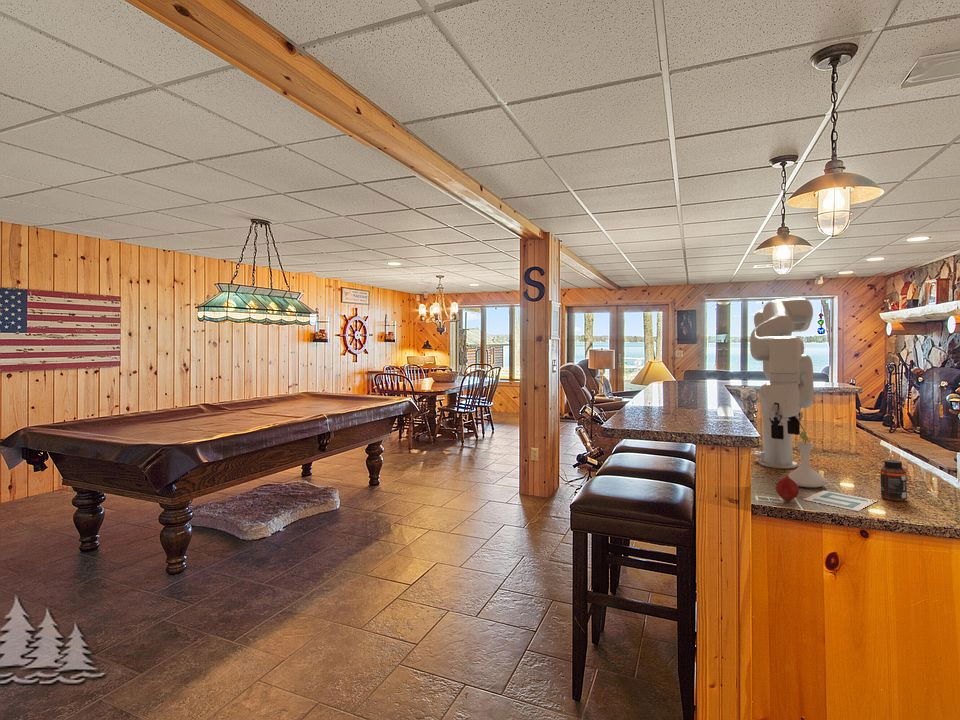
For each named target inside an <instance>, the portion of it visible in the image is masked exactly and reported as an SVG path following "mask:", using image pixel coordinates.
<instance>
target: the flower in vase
mask: <svg viewBox="0 0 960 720" xmlns="http://www.w3.org/2000/svg"><path fill="white" fill-rule="evenodd" d="M799 417H800V428H801V429H802V431H801V432H800V434H799V437H800V438H801V439H802V441H801V442H796V443H795V445H796V446H797V447H798V450H799V453H800V465H799V466H797V467H796V469H794V470H793V471H791V472H789V473H788V474H787V475H789V478H790V479H792V480H793V481H794V482H795V483H796V484H797V486H798V487H801V488H802V487H803V488H819V487H820V488H821V487H824V486H826V485H827V484H828V483H827V480H826V478H825V477H824V476H823V475H821V474H820V473H818V472H817V471H816V470H815V469H814V468H813V467H812V466H811V464H810V455H811V454H810V452H811V450H812V448H813V447H814V446H815V444H814V443H812V442H807V440H809V437H808V436H807V433H806V431H805V429H804V427H803V425H802V423H801V421H802V419H803V418H804V411H803V410H800V416H799Z"/></svg>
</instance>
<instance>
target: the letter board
mask: <svg viewBox="0 0 960 720" xmlns="http://www.w3.org/2000/svg"><path fill="white" fill-rule="evenodd" d="M805 500H806V501H807V502H810V501H812V502H811V503H815V502H816V504H819V503H821V504H820V505H824V504H825V505H824V506H829V505H830V506H831V507H834V506H835V508H838V507H839V509H844V510H849V511H852V512H853V511H854V512H857V511H858V512H860V511H862V510H864V509H866V508H868V507H870V506H872V505H874V504H875V503H874V502H876V503H878V502H877V501H878V500H875V499H871V498H865V497H861V496H855V495H849V494H845V493H844V494H843V493H840V492H839V493H838V492H833V491H829V490H821V491H819V492H817V493H814V494H812V495H810V496H808V497H805V498H802V501H805ZM872 500H873V501H874V502H872ZM806 501H805V502H806ZM867 501H868V502H867ZM870 501H871V502H870ZM873 503H874V504H873ZM871 504H872V505H871ZM869 505H870V506H869ZM867 506H868V507H867ZM865 507H866V508H865ZM863 508H864V509H863Z"/></svg>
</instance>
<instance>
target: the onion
mask: <svg viewBox="0 0 960 720" xmlns="http://www.w3.org/2000/svg"><path fill="white" fill-rule="evenodd" d="M799 489H800V488H799V486H797V484H796V483H795V482H794V481H793V480H792V479H790V478H789V475H788V474H786V475H785V476H784V477H782V478H780V479H779V481H777V483H776V485H775V491H776V493H777V495H778V496H779V497H780V498H781V499H782V500H784V501H785V502H786V501H787V503H789V502H792V500H794V499H795V498H797V497H798V495H799V493H800V490H799Z"/></svg>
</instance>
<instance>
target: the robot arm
mask: <svg viewBox="0 0 960 720" xmlns="http://www.w3.org/2000/svg"><path fill="white" fill-rule="evenodd" d="M813 317H814V308H813V305H812V303H811V302H810V300H809V299H807V298H804V297H796V298H780V299H774V300H771V301H769V302H767V303H765V305H764V307H763V309H762V310H761V311H758V312H757V313H755V315H754V316H753V324H754V328H753V330H752V332H751V334H750V339H749V350H750V354H751V357H752V358H753V359H754V360H756V361H760V362H762V369H763V370H762V371H763V375H764V376H765V377H766V378H767V379H769V382H766V383H765V384H762V385H761V386H760V388H759V392H758V394H759V400H760V405H761V416H762V418H761V419H762V443H763V444H762V445H763V446H762V449H763V450H762V451H758V450H757V451H756V450H753V451H754V452H753V457H755V458H760V459H759V461H758V464H759V465H761V466H764V467H767V468H773V469H795V468H798V462H796V461H794V460H793V435H797V436H800V433H801V432H800V431H801V430H800V429H801V426H800V423H801V421H800V417H799V416H800V412H801V411H802V410H801V409H808V408H810V407H812V406H813V403H814V398H815V397H814V395H815V393H814V365H813V361H812V358H811V356H809V355H807V353H806V354H805V343H804V341H803V340H802V339H801V338H800V337H798V336H796V335H791V334H792V333H800V332H801V333H802V332H806V331H807V330H808V329H809V328H810V326H811V323H812V320H813Z"/></svg>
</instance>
